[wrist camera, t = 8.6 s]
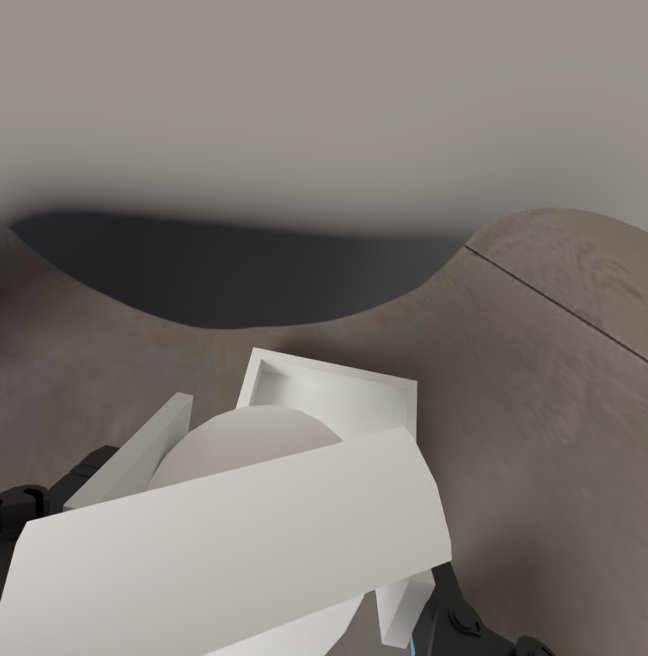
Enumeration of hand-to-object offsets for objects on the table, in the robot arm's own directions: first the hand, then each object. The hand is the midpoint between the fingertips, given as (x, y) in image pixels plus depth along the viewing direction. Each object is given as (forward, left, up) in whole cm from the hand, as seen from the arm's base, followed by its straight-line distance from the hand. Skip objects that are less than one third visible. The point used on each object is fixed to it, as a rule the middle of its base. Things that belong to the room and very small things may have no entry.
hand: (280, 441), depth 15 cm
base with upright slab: (0, -3, -4) cm, 5 cm away
